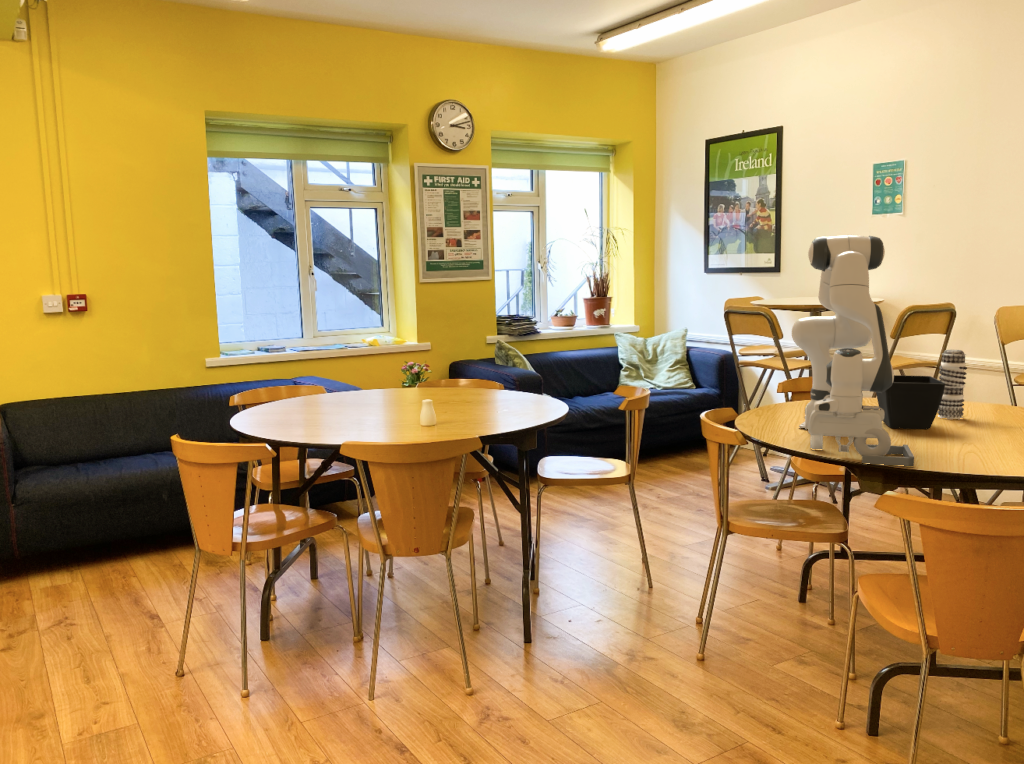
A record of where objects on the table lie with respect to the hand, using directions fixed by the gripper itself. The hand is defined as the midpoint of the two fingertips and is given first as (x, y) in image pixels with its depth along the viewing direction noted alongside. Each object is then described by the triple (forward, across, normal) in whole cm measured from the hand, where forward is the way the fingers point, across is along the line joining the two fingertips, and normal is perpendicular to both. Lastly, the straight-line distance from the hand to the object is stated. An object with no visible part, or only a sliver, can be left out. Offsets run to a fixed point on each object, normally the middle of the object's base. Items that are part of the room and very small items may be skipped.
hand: (843, 451), depth 244 cm
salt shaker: (+2, +8, -9) cm, 12 cm away
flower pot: (+2, -22, -59) cm, 63 cm away
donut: (+2, -7, 0) cm, 8 cm away
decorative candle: (+2, -39, -82) cm, 91 cm away
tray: (+2, -11, 0) cm, 11 cm away
